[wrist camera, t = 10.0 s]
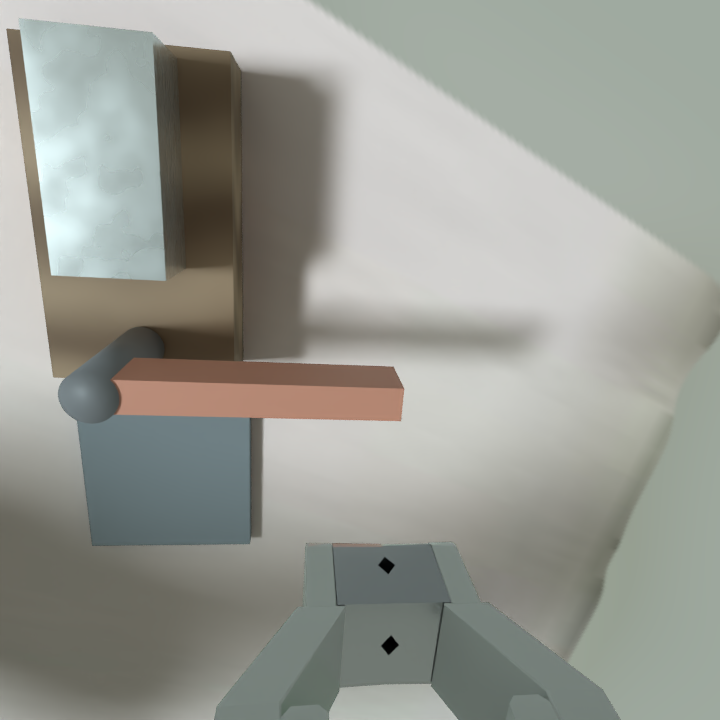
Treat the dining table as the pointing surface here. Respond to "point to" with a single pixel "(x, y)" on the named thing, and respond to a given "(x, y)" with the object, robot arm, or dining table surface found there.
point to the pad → (167, 480)
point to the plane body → (201, 229)
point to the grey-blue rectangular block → (106, 149)
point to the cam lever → (223, 386)
